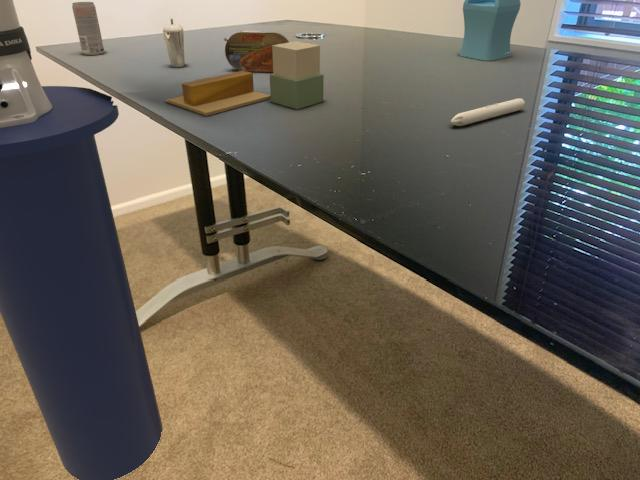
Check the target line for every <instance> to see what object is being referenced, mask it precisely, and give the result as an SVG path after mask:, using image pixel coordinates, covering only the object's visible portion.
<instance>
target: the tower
mask: <svg viewBox="0 0 640 480" xmlns="http://www.w3.org/2000/svg"><path fill="white" fill-rule="evenodd" d="M272 53H273V72H272V73H270V74H269V92H270V94H269V95H270V96H271V99H270V102H271V103H274V104H278V105H281V106H284V107H287V108H292V109H295V110H300V109H303V108H307V107H310V106H313V105H317V104H320V103H323V102H324V79H325V78H324V77H325V76H324V74H323V73H321V45H319V44H315V43H308V42H303V41H299V40H298V41H297V40H295V41H289V43H283V44H278V45H272Z"/></svg>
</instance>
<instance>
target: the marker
mask: <svg viewBox="0 0 640 480" xmlns="http://www.w3.org/2000/svg"><path fill="white" fill-rule="evenodd" d="M525 104H526V102H525V100H524V99H523V98H521V97H520V98H514V99H511V100H506V101H503V102H499V103H493V104H488V105H484V106H483V107H478V108H475V109H474V108H473V109H471V110H467V111H463V112H459V113H457V114H456V115H454V116H453V117H452V119H451V120H450V123H451V124H452V125H454V126H457V127H463V126H467V125H471V124H474V123H477V122H481V121H486V120H488V119H489V120H490V119H492V118H496V117H500V116H505V115H508V114H511V113H514V112H518V111H521V110H523V109H524V108H525V106H526V105H525Z"/></svg>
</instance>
